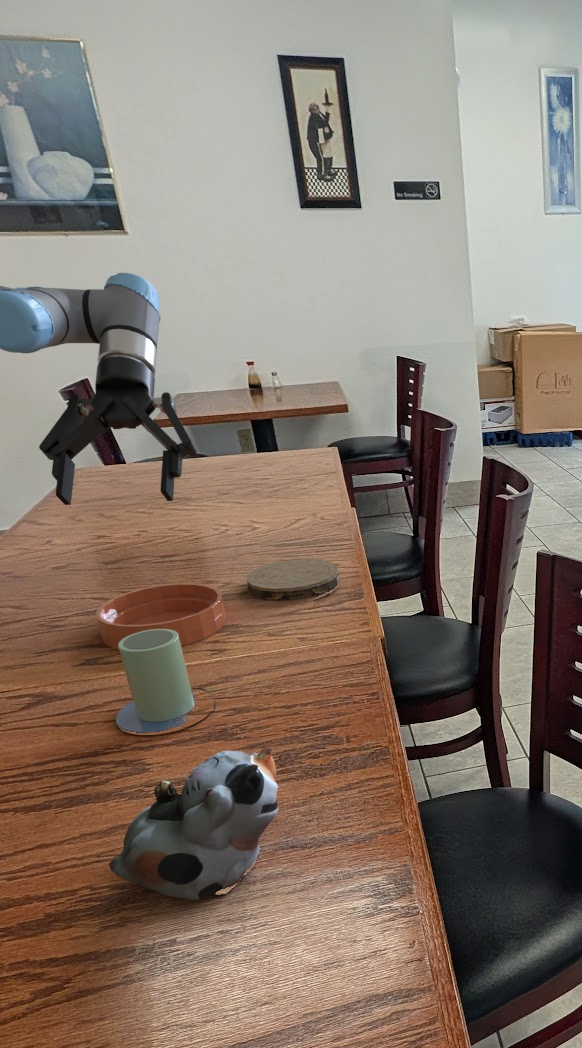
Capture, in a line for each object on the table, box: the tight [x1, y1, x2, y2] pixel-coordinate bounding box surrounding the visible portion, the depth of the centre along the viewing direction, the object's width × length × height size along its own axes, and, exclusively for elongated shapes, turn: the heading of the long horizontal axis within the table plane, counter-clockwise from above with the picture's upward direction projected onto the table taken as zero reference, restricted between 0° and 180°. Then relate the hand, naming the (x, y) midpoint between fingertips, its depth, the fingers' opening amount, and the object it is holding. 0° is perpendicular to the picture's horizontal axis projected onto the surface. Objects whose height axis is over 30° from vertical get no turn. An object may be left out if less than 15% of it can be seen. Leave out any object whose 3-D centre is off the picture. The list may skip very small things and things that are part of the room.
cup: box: [118, 629, 195, 722], centre depth 106 cm, size 7×7×10 cm
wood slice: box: [246, 558, 341, 602], centre depth 149 cm, size 16×16×3 cm
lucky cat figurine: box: [108, 745, 279, 901], centre depth 78 cm, size 15×12×14 cm
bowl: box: [94, 582, 228, 651], centre depth 131 cm, size 18×18×5 cm
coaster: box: [115, 690, 199, 733], centre depth 108 cm, size 12×12×1 cm
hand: (115, 498), depth 113 cm, fingers open, 13 cm apart
